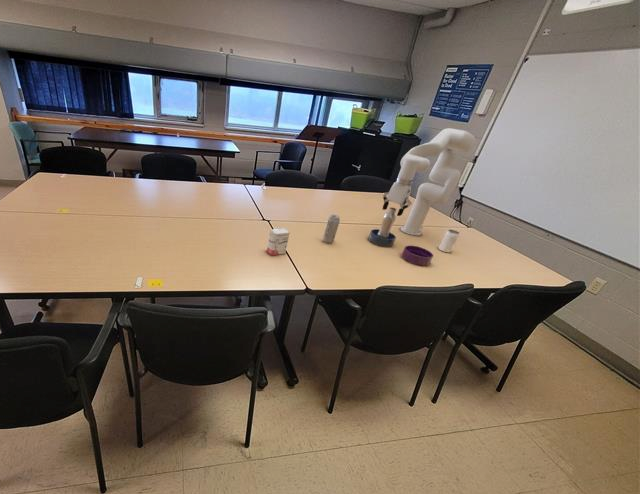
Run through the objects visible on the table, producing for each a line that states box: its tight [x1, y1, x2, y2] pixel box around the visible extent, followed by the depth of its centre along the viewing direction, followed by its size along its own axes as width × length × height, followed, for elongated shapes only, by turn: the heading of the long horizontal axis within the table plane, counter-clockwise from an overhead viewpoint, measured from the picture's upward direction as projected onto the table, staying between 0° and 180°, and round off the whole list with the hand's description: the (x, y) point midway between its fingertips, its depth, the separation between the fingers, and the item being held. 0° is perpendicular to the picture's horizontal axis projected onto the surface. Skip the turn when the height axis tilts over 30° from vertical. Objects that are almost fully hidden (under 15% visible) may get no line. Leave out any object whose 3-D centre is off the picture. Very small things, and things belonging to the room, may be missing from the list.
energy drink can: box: [322, 214, 341, 244], centre depth 174 cm, size 6×6×15 cm
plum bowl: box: [401, 245, 434, 266], centre depth 170 cm, size 14×14×5 cm
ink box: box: [266, 227, 290, 256], centre depth 156 cm, size 9×5×12 cm, turn 117°
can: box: [438, 229, 460, 253], centre depth 185 cm, size 6×6×12 cm
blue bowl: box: [367, 228, 397, 248], centre depth 186 cm, size 14×14×5 cm
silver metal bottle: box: [376, 207, 398, 239], centre depth 181 cm, size 6×7×20 cm
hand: (391, 212), depth 177 cm, fingers open, 9 cm apart
